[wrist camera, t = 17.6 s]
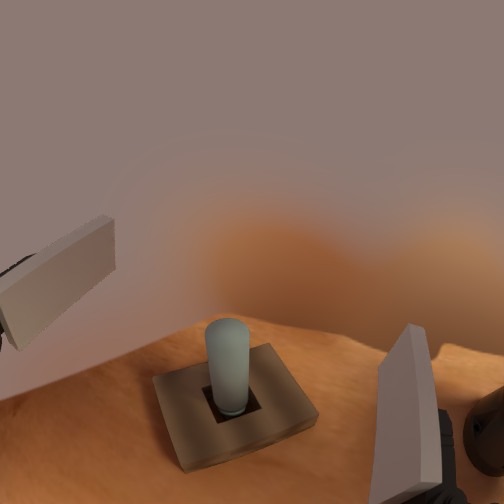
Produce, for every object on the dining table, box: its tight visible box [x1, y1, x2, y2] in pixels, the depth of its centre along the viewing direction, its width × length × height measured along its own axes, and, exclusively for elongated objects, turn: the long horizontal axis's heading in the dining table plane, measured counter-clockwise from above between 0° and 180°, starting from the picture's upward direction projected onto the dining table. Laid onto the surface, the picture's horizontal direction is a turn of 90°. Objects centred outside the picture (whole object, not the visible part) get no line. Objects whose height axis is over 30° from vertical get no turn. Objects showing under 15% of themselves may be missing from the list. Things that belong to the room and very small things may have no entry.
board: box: [152, 343, 319, 473], centre depth 37 cm, size 18×14×4 cm
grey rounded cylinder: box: [205, 318, 250, 420], centre depth 33 cm, size 4×4×16 cm
